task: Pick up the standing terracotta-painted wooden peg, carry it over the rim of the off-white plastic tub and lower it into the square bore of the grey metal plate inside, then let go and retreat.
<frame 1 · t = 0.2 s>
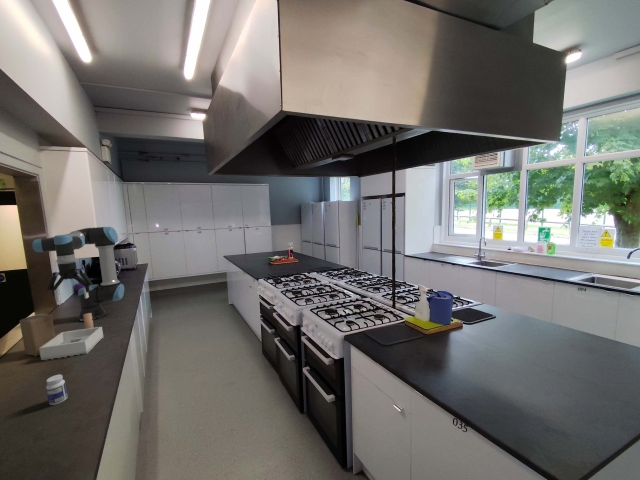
hand: (72, 299, 162), 27 cm above the worktop, fingers open, 13 cm apart
pill bottle: (58, 401, 116), on the worktop
wooden block: (41, 351, 159), on the worktop
peg: (90, 336, 176), on the worktop
tub: (74, 348, 161), on the worktop
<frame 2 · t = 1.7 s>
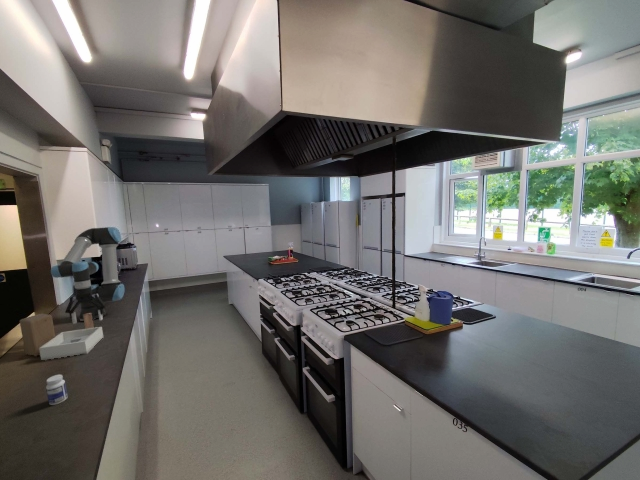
hand: (88, 321, 175), 9 cm above the worktop, fingers open, 13 cm apart
nothing on the worktop moved.
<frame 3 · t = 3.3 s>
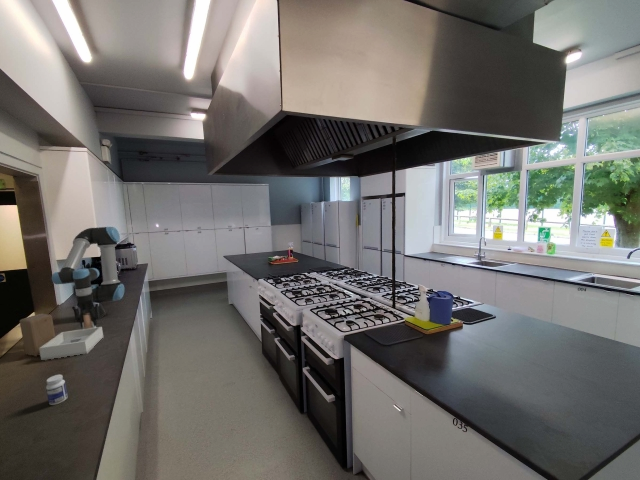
hand: (90, 331, 176), 3 cm above the worktop, fingers closed on peg, 4 cm apart
peg: (90, 336, 177), on the worktop, touching gripper
everything else where it was.
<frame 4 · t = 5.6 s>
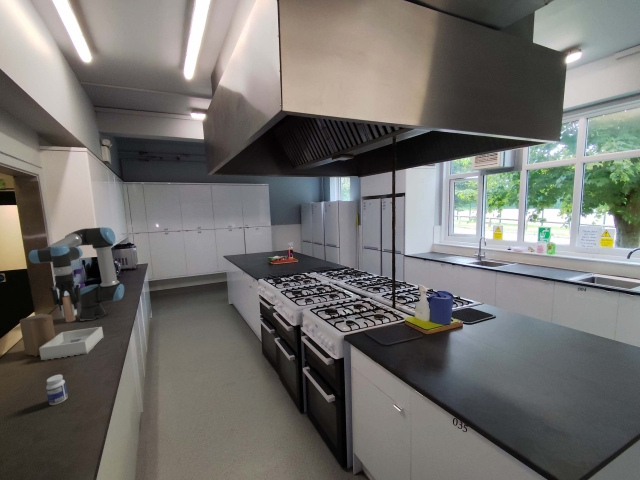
hand: (70, 315, 159), 19 cm above the worktop, fingers closed on peg, 4 cm apart
peg: (70, 320, 159), point 16 cm above the worktop, touching gripper
everything else where it was.
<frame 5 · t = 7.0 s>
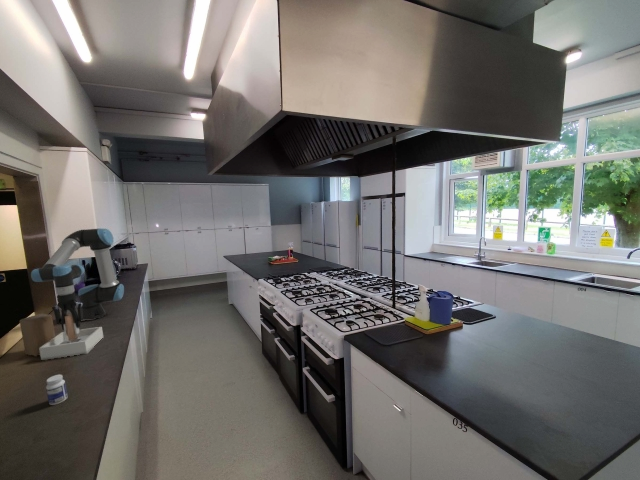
hand: (72, 334, 160), 9 cm above the worktop, fingers closed on peg, 4 cm apart
peg: (73, 339, 160), point 6 cm above the worktop, touching gripper
everything else where it was.
when the fingers open (6 cm above the worktop, at t = 8.1 s): peg stays where it is, resting on tub.
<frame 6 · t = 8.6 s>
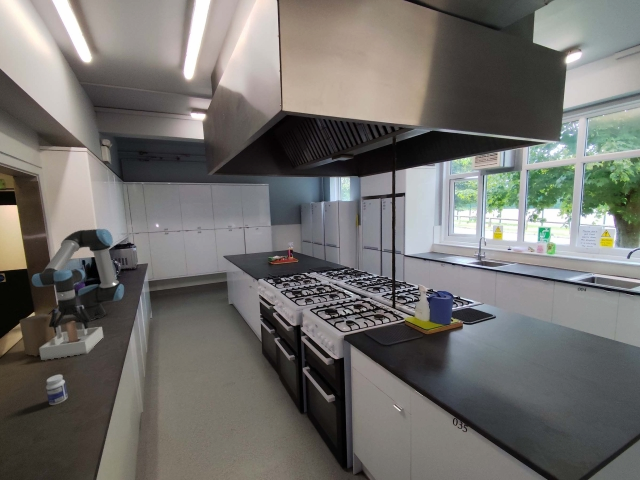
hand: (72, 336, 160), 7 cm above the worktop, fingers open, 11 cm apart
peg: (74, 346, 161), point 1 cm above the worktop, touching tub
everything else where it was.
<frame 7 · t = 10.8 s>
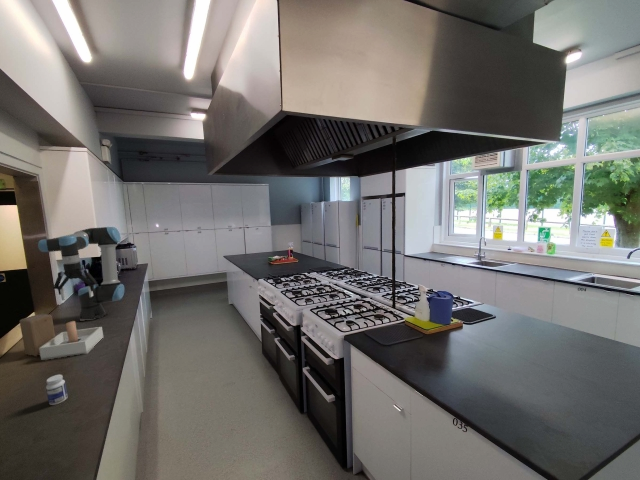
hand: (78, 298, 168), 26 cm above the worktop, fingers open, 13 cm apart
nothing on the worktop moved.
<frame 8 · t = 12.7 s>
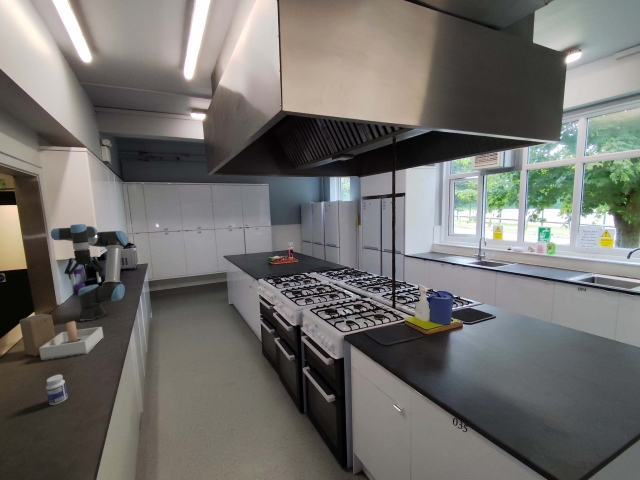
hand: (86, 283, 179), 32 cm above the worktop, fingers open, 13 cm apart
nothing on the worktop moved.
at the end: peg 0.0 cm off-centre on the tub, point 1.2 cm above the tub's base; peg tilted 0°; the gripper is holding nothing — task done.
